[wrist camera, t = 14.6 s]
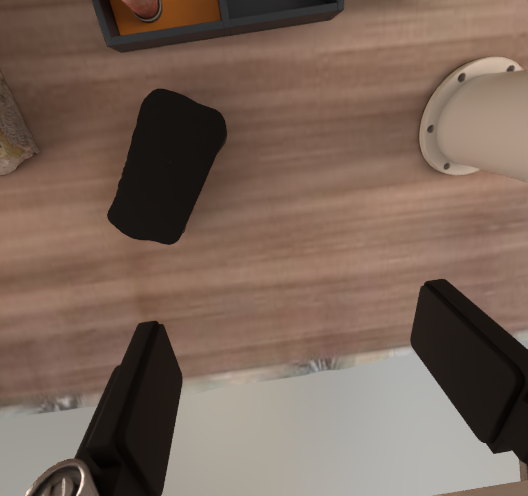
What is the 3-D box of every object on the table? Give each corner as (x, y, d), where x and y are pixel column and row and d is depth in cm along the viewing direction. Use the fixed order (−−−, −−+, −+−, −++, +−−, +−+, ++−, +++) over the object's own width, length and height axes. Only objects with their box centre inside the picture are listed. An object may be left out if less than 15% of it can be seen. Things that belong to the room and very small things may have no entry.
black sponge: (157, 79, 28) (148, 76, 25) (233, 121, 31) (233, 124, 28) (113, 215, 34) (101, 227, 31) (180, 241, 37) (175, 255, 34)
